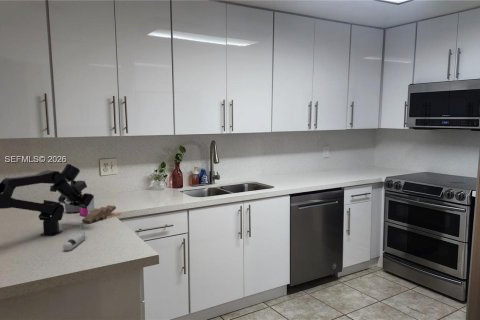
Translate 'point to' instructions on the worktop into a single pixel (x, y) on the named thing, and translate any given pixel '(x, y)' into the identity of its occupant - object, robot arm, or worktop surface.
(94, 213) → the domino
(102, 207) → the domino
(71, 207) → the smart speaker
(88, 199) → the robot arm
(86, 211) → the supplement box
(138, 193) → the worktop surface
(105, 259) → the worktop surface
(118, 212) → the end domino
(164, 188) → the worktop surface
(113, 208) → the domino
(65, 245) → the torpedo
